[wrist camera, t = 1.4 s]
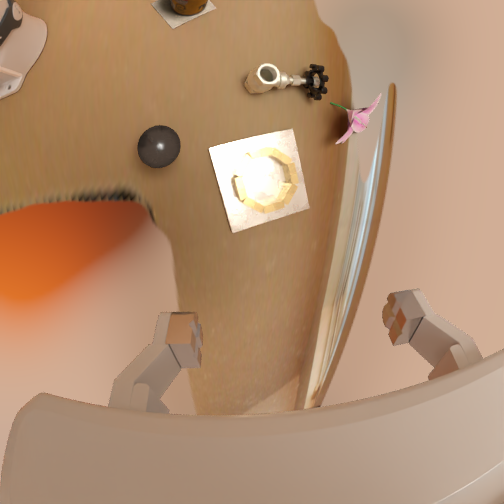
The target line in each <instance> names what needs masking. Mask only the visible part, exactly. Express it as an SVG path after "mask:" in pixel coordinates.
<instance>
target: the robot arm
mask: <svg viewBox="0 0 504 504" xmlns="http://www.w3.org/2000/svg"><path fill="white" fill-rule="evenodd" d="M46 38H47V26H46V24H45V22H44V21H43V20H42V19H40V18H37V17H33V16H31V15H29V14H27V13H25V12H23V11H22V9H21V8H20V6H19V5H18V4H17V3H16V2H15V1H14V0H0V99H2V98H5V97H7V96H9V95H11V94H13V93H16V92H17V91H18V90H19V89H20V88H21V86H22V83H23V81H24V79H25V76H26V74H27V72H28V71H29V69H30V68H31V67H32V66H33V64H34V63H35V62H36V60H37V59H38V57H39V55H40V53H41V52H42V49H43V47H44V45H45V42H46ZM10 87H11V89H10ZM9 89H10V90H9ZM387 300H388V303H387V304H386V305H385V306H384V308H383V311H382V318H383V323H384V325H385V327H387V328H388V329H389V334H388V335H389V337H390V339H391V342H392V344H393V346H395V345H399V344H405V343H409V344H410V345H411V346H412V347H413V348H414V349H415V350H416V351H417V352H418V353H419V354H420V355H421V356H422V357H423V358H425V359H426V360H427V361H428V362H429V363H430V364H431V365H432V366H433V367H434V369H433V370H432V371H431V373H430V374H429V376H428V379H429V381H426V382H423V383H420V384H417V385H414V386H410V387H407V388H404V389H400V390H397V391H393V392H389V393H386V394H382V395H378V396H374V397H370V398H365V399H361V400H356V401H351V402H347V403H341V404H336V405H330V406H325V407H318V408H311V409H304V410H295V411H287V412H276V413H264V414H248V415H181V414H169V409H168V408H167V407H166V406H165V404H164V403H163V402H162V401H161V400H160V398H161V397H162V395H163V394H164V393H165V391H166V390H167V389H168V387H169V386H170V384H171V383H172V382H173V380H174V379H175V377H176V376H177V375H178V373H179V372H180V371H181V368H201V357H202V354H201V351H200V348H201V347H202V345H203V332H202V327H201V324H200V323H198V315H197V312H161V313H160V315H159V316H158V321H157V325H156V329H155V334H154V338H153V343H152V344H149V345H148V346H147V347H146V348H145V349H144V350H143V351H142V352H141V353H140V354H139V355H138V356H137V357H136V358H135V359H134V360H133V361H132V362H131V363H130V364H129V365H128V366H127V367H126V368H125V369H124V370H123V371H122V372H121V374H119V375H118V377H117V378H116V379H115V380H114V383H113V387H112V391H111V396H110V400H109V405H108V407H106V406H101V405H95V404H90V403H85V402H80V401H76V400H71V399H67V398H63V397H59V396H55V395H52V394H48V393H39V394H38V395H36V396H35V397H33V398H32V399H31V400H30V401H29V402H28V403H26V404H25V406H23V407H22V408H21V409H20V410H19V412H18V413H17V415H16V417H15V419H14V422H13V424H12V427H11V431H10V434H9V437H8V441H7V446H6V450H5V455H4V460H3V465H2V473H1V482H0V504H504V349H502V350H500V351H498V352H496V353H494V354H492V355H490V356H488V357H486V358H484V359H483V357H482V355H481V353H480V351H479V350H478V347H477V346H476V344H475V342H474V340H473V338H472V337H470V336H469V335H468V334H466V333H465V332H463V331H462V330H460V329H459V328H457V327H456V326H454V325H453V324H451V323H450V322H449V321H447V320H446V319H444V318H443V317H441V316H440V315H438V314H435V313H434V312H433V310H432V308H431V306H430V305H429V303H428V301H427V299H426V298H425V296H424V294H423V293H422V291H421V290H420V289H412V290H405V291H399V292H394V293H390V294H389V295H388V297H387Z"/></svg>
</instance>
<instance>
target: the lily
mask: <svg viewBox="0 0 504 504" xmlns="http://www.w3.org/2000/svg"><path fill="white" fill-rule="evenodd" d="M380 97H381V94H380V95H379V96H378V97H377V99H376V100H375V101H374V102H373V104H372V105H371V106H370V107H368V108H362V109H355V110H348V109H346V108H344V107H342V106H340V105H338V104H335V103H332V102H330V104H333V105H336V106H339V107H341V108H343V109H345V110H346V111H347V112H348V130H347V132H346V133H345V134H344V135H343V137H341V138H340V139H339V140H338V141H337V142H336V144H338V143H340V142H342V141H343V142H344V141H346V140H347V139H348V137H349V136H350V135H351V134H352V133H353V131H355V132H361V131H363V130H364V129H365V128H367V125H368V123H369V116H368V115H369V114H370V113H371V112H372V111H373V110H374V108H375V107H376V106H377V105H378V101H379V100H380ZM343 142H342V143H343Z"/></svg>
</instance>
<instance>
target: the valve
mask: <svg viewBox="0 0 504 504" xmlns="http://www.w3.org/2000/svg"><path fill="white" fill-rule="evenodd" d="M310 68H312V70H310V71H306V72H305V76H303V78H300V76H299V75H291V76H288V75H286V73H285V72H284V71H279V70H278V69H277V68H276V66H275V65H274V64H260V65H259V66H258V67H257V68H254V69H253V70H252V71H251V72H250V73H249V74H248V77H247V79H246V81H245V83H244V86H245V87H246V89H247V90H248V91H249V93H250V94H259V93H263V92H266V91H268V90H270V89H271V88H272V87H276V88H278V89H284V88H285V87H286V85H288V84H290V85H291V86H299V85H300V84H303V86H304V87H305V88H309V90H310V91H311V92H310V93H307V96H308V97H309V98H314V100H321V98H322V96H321V94H326V93H327V88H326V87H324V84H325V82H327V81H328V79H329V78H328V76H327V75H323V72H324V66H319V65H315V64H311V65H310ZM317 69H318V70H317ZM316 73H317V74H318V76H319V79H320V82H319V79H318V77H314V75H315V74H316ZM319 83H320V85H319ZM317 86H319V88H315V87H317ZM315 95H316V97H315Z"/></svg>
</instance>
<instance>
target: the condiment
mask: <svg viewBox="0 0 504 504" xmlns="http://www.w3.org/2000/svg"><path fill="white" fill-rule="evenodd" d="M152 6H153V7H154V8H155V9H156V10H157V11H158V13H159V14H160V15H161V16H162V17H163V18H164V20H165V21H166V22H167V23H168V24H169V25H170V26H171V27H172V29H174V28H176V27H178V26H180V25H182V24H183V23H185V22H188V21H189V20H192V19H194V18H196V17H198V16H200V15H203V14H205V13H207V12H209V11H212V10H214V9H216V7H215V6H214V5H213V4H212V3H211V2H210V1H209V0H171V1H170V0H158V1H155V2H154V3H152Z"/></svg>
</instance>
